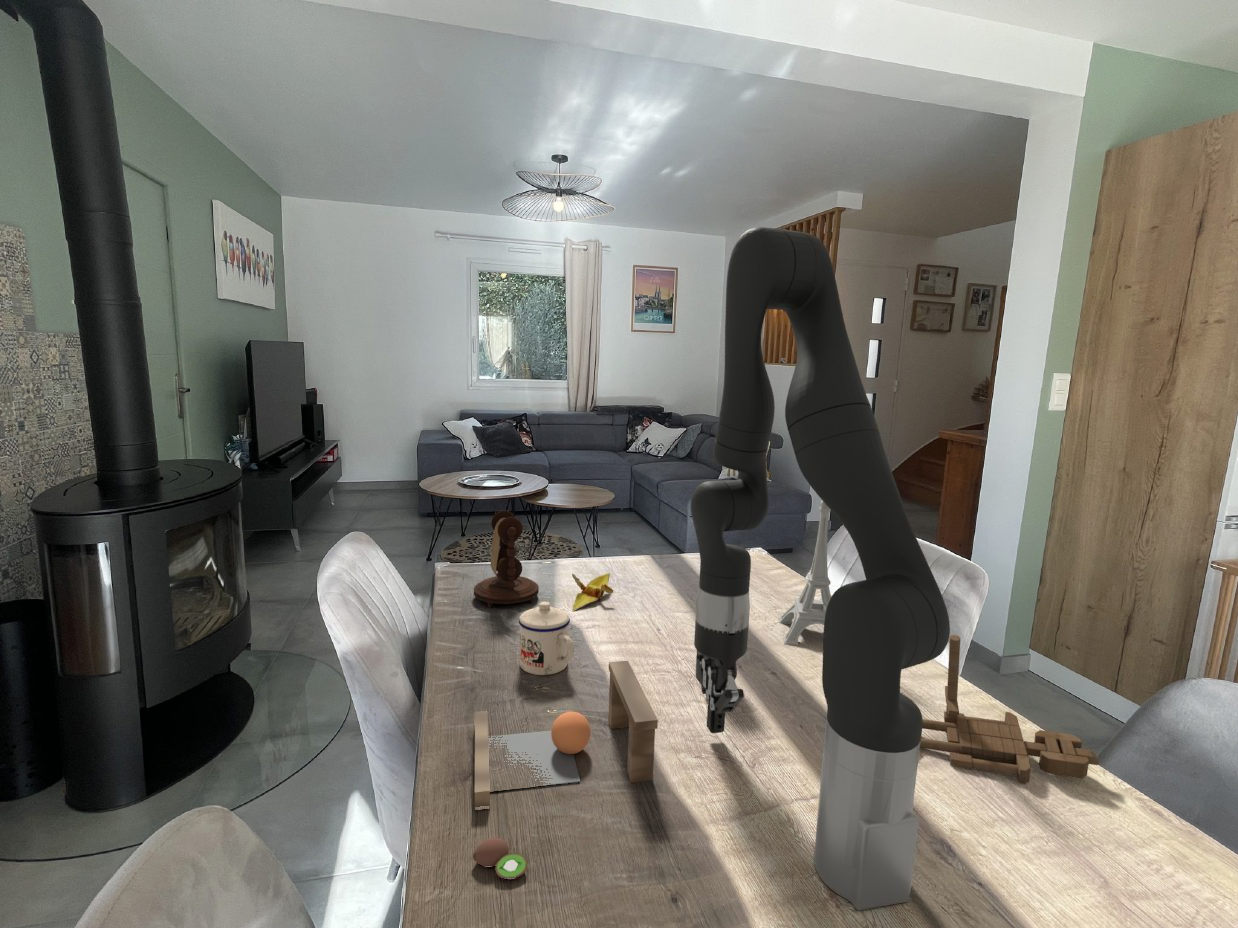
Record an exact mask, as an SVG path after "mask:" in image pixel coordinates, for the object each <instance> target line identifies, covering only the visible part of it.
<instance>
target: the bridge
mask: <svg viewBox="0 0 1238 928" xmlns="http://www.w3.org/2000/svg"><path fill="white" fill-rule="evenodd" d="M608 672H609V687H608V689H609V691H608V692H609V693H608V721H607V722H608V724H609V727H610V729H611V730H612V729H623V728H628V739H627V740H628V741H627V742H628V743H627V744H628V745H627V765H626V766H627V768H626V769H627V771H626V774H627V776H628V777H627V778H628V779H629V781H630V782H629V783H631V784H633V783H642V782H649V781H654V763H655V762H654V760H655V740H656V738H655V737H656V729H657V730H658V727H659V726H658V723H659V719H658V718H657V715H656V714H655V711H654V709H653V708H652V706H651V704H650V702H649V699H648V698H647V696H646V694H645V692H644V690H643V687H642V686H641V684H640V682H639V680H638V678H637V676H636V673H635V672H634V670H633V668H632V666H631V664H630V661H629V660H618V661H608Z"/></svg>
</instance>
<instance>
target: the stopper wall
mask: <svg viewBox="0 0 1238 928" xmlns="http://www.w3.org/2000/svg"><path fill="white" fill-rule="evenodd" d="M488 713H489V712H488V710H482V711H474V808H475V807H480V806H490V807H491V793H490V779H489V745H488V737H489V716H488Z"/></svg>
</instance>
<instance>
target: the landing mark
mask: <svg viewBox="0 0 1238 928" xmlns="http://www.w3.org/2000/svg"><path fill="white" fill-rule="evenodd" d="M494 736H495V737H496V736H497V737H496V739H495V738H492V737H494ZM502 736H503V737H502ZM488 737H490V735H488ZM498 737H502V738H498ZM493 739H495V740H499V739H501V741H500V744H499V745H500V746H502V745H507V749H509V750H508V751H509V752H510V753H509V754H511V755H512V754H513V755H512V756H513V757H514V758H507V759H508V760H510V761H511V759H512V760H514V759H516V760H518V761H519V759H520V760H522V759H525V760H527V761H519V762H521V763H525V762H526V763H528V761H529V760H531V761H529V762H531V763H533V764H525V765H527V766H528V765H529V766H530V767H531V766H532V765H533V766H534V767H532V768H536V769H539V768H540V770H542V773H541V774H540V775H538V773H540V770H538V773H537V774H535V773H534V774H535V775H538V776H536V777H537V778H539V776H541V775H542V774H543V776H542V777H547V778H553V779H543V780H549V781H540V782H545V783H548V784H543V785H553V786H557V785H556V784H562V785H569V784H568V783H571V784H578V782H579V783H581V779H580V776H579V775H580V774H579V770H578V767H577V763H576V759H575V754H565V753H563V752H561V751H559V750H558V749H557V748H556V747H555V745H554V743H553V741H552V737H551V730H543V731H541V730H540V731H533V732H521V733H513V734H512V733H510V734H509V733H508V734H502V735H499V734H498V735H491V738H488V740H489V741H488V742H489V743H491V742H493V741H490V740H493ZM502 740H503V741H502ZM505 740H506V741H505ZM507 740H508V741H507ZM495 742H496V743H497V742H499V741H494V743H495ZM505 742H506V743H507V744H501V743H505ZM489 743H488V745H491V744H489ZM495 745H497V744H494V746H495ZM489 748H490V747H489ZM494 748H496V747H494ZM500 748H502V747H500ZM503 748H504V747H503ZM511 752H513V753H511ZM514 752H517V753H518V754H519V756H520V757H522V758H518V755H515V754H517V753H514ZM522 752H523V753H522ZM525 752H526V753H525ZM507 754H508V753H507ZM522 754H523V755H522ZM525 754H528V755H525ZM537 754H538V755H537ZM511 755H509V757H511ZM506 756H507V757H508V755H505V757H506ZM529 757H531V758H529ZM533 760H534V761H533ZM536 760H538V761H536ZM504 762H505V761H504ZM506 762H507V761H506ZM508 762H509V761H508ZM511 762H513V763H517V761H511ZM540 763H541V764H540ZM508 765H509V764H508ZM510 765H513V764H510ZM516 765H517V764H516ZM519 765H520V764H519ZM535 765H538V766H542V767H535ZM530 767H529V768H530ZM514 768H516V767H514ZM522 768H523V767H522ZM546 768H547V769H548V770H546ZM551 769H552V770H551ZM531 771H534V772H537V770H531ZM544 771H545V773H544ZM548 772H549V773H548ZM534 774H533V775H534ZM545 774H546V776H545ZM549 775H551V776H549ZM531 777H532V776H531ZM534 778H535V776H534ZM536 780H537V779H535V781H536ZM539 780H540V779H539ZM549 783H551V784H549ZM534 785H535V784H534ZM537 786H538V785H537Z"/></svg>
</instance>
